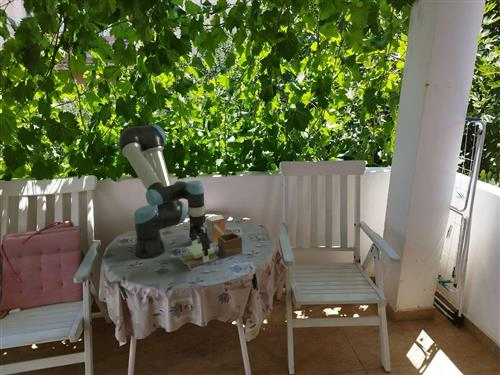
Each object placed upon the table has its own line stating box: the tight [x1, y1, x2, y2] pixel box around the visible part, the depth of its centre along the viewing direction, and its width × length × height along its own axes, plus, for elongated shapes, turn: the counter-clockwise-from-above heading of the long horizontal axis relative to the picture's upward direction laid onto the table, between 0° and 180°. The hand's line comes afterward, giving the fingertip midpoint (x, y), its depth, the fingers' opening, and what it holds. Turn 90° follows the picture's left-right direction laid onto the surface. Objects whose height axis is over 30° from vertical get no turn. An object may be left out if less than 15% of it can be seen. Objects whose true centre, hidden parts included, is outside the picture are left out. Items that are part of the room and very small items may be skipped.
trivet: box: [182, 253, 219, 269], centre depth 187 cm, size 10×14×2 cm
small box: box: [205, 214, 227, 244], centre depth 207 cm, size 8×6×13 cm
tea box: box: [217, 232, 243, 258], centre depth 191 cm, size 8×9×9 cm
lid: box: [185, 242, 216, 258], centre depth 186 cm, size 11×10×3 cm
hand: (200, 257), depth 186 cm, fingers closed on lid, 11 cm apart
